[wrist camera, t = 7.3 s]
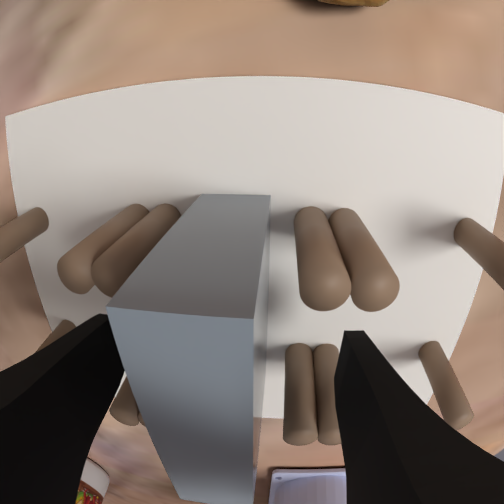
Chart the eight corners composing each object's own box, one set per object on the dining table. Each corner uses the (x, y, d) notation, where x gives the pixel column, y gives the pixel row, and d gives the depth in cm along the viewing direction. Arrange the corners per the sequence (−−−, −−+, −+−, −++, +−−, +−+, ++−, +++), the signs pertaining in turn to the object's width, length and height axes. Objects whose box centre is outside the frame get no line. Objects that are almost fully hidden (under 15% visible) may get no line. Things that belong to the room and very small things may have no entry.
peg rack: (418, 399, 16) (441, 473, 11) (83, 377, 18) (45, 439, 13) (495, 113, 9) (588, 130, 4) (19, 114, 11) (-71, 133, 6)
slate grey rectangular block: (265, 368, 14) (252, 508, 8) (214, 365, 14) (180, 498, 8) (270, 195, 11) (253, 318, 5) (201, 194, 11) (105, 306, 5)
